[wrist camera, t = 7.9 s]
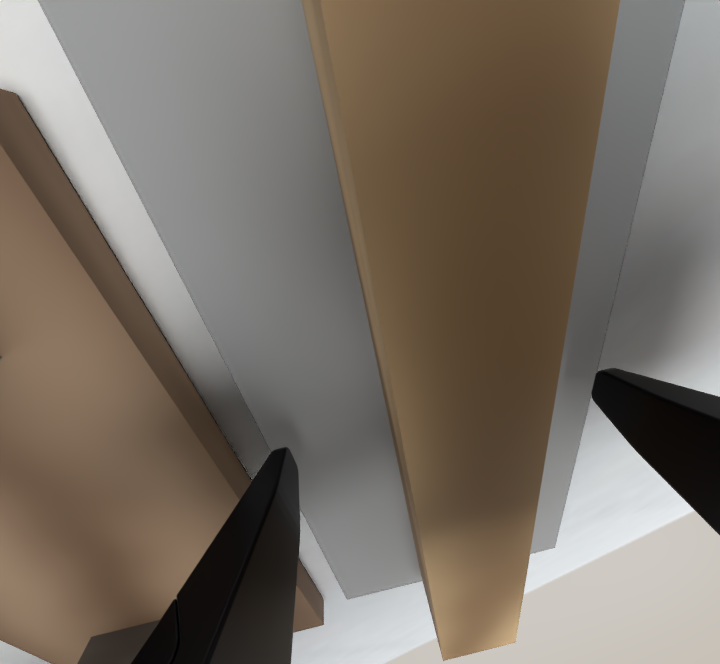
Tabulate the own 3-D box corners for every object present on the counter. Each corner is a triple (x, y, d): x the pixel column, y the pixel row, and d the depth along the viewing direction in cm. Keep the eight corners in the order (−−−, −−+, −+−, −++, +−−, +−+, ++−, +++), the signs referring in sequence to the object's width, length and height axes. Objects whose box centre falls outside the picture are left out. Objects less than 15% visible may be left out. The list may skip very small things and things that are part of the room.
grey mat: (346, 585, 15) (347, 599, 14) (-44, -208, 4) (-102, -271, 3) (546, 535, 15) (554, 547, 15) (730, -369, 4) (793, -454, 3)
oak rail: (420, 571, 14) (443, 660, 11) (259, -201, 4) (114, -1108, 1) (478, 556, 14) (515, 642, 11) (475, -244, 4) (822, -1225, 1)
